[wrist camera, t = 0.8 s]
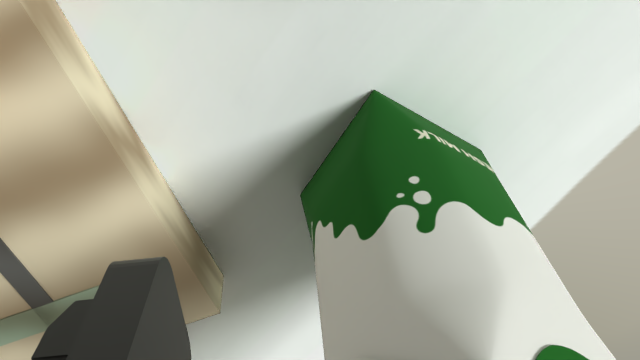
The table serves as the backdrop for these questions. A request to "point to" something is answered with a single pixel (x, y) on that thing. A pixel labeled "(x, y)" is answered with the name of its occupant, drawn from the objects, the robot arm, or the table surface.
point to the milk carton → (430, 252)
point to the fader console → (76, 185)
